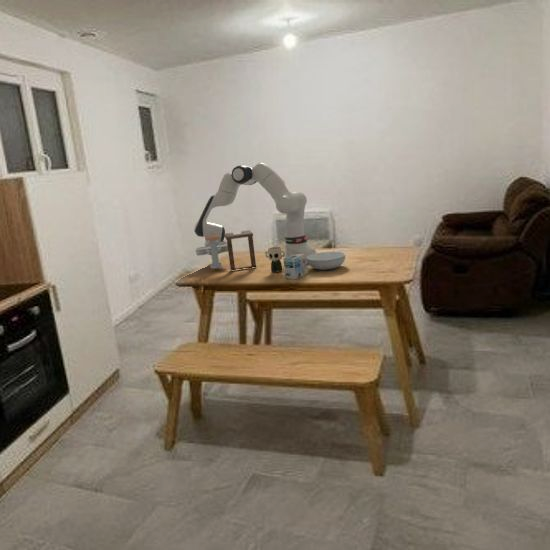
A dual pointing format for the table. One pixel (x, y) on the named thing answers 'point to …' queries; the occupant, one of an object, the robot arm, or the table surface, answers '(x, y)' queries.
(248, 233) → the brown wooden frame rack
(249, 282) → the table surface
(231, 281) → the table surface
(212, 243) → the hanging peg
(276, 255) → the character mug
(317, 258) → the serving bowl
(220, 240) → the robot arm
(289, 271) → the light bulb box
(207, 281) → the table surface
